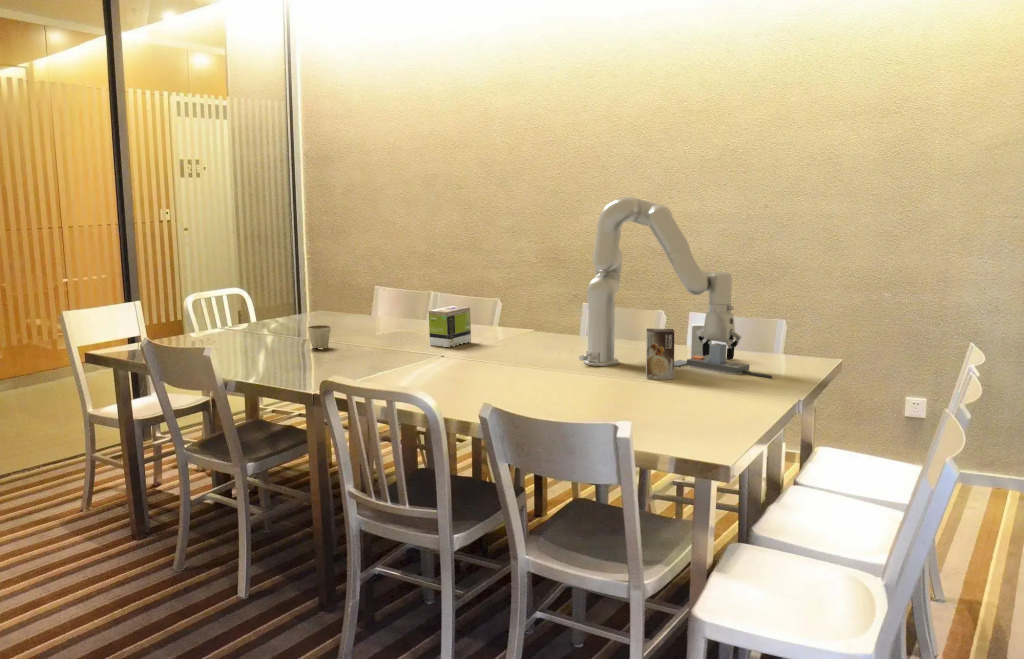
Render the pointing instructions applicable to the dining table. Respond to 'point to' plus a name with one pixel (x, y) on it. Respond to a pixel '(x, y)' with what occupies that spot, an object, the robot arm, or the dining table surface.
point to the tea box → (449, 326)
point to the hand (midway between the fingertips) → (717, 357)
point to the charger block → (717, 353)
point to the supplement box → (697, 341)
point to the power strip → (722, 366)
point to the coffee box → (660, 354)
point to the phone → (680, 363)
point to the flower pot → (319, 335)
